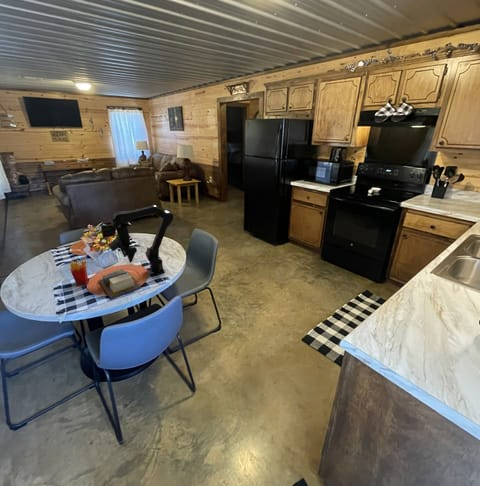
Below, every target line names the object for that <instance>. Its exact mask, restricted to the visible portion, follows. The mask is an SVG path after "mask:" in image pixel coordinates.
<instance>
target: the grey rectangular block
mask: <svg viewBox="0 0 480 486" xmlns="http://www.w3.org/2000/svg"><path fill="white" fill-rule="evenodd" d="M126 271H127V270H125V269H123V268H121V269H119V270H116V271H113V272H110V273H107V274H103V275H102V279H103V280H104V282H105V283H106V284H109V283H110V280H109V279H111V278H114V277H117V276H120V275H123V274H126Z"/></svg>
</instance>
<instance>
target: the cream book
mask: <svg viewBox="0 0 480 486" xmlns="http://www.w3.org/2000/svg"><path fill="white" fill-rule="evenodd" d="M129 274H130V272H128V273H126V274H123V275H120V276H117V277H114V278H111V279H109V280H110V283H111V284H112V286H113V287H115V286H118V285H121V284H123V283H126V282H129V281H132V277H133V276H132V275H131V274H130V275H131V276H132V277H131V276H130V275H129Z"/></svg>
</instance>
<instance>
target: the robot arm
mask: <svg viewBox="0 0 480 486" xmlns="http://www.w3.org/2000/svg"><path fill="white" fill-rule="evenodd" d="M152 214H155V215H157V216H158V217H159V225H158V228H157V230H156V233H155V236H154V239H153V242H152V244H151V246H150V247H149V246H148V247H147V248H146V251H145V257H146V259H147V261H148V262H149V264H150V265H149V269H150V272H151V273H152V274H153V275H158V274H161V273H163V272H165V269H164V267H163V265H164V264H163V260H162V258H161V257H160V247H161V245H162V242H163V239H164V236H165V235H166V231H167V229H168V227H169V226H170V225H171V224H172V222H173V220H174V215H173V213H171V212H170V211H169V210H167V209H165V210H164V209H163V208H161V207H158V206H157V205H155V204H152V205H149V206H146V207H140V208H136V209H133V210H120V211H116V212H114V214H113V219H112V221H111V223H109V224H101V225H100V229H101V230H100V231H101V236H102V238H103V239H106V238H113V237H115V236H116V235H117V236H116V239H114V240H112V241H110V242H109V243H107V247H109V249H110V250H111V251H112V252H115V251H116V250H118V249H120V252H121V253H122V255H123V257H124V258H126V257H127V259H128V262H129V263H132V262H133V260H134V257H135V255H136V253H137V252H138V249H137V247H135V246H134V245H132V244H133V243H132V242H131V235H130V233H129V227H132V224H131V223H130V221H132V220H133V219H137V218H141V217H145V216H150V215H152Z"/></svg>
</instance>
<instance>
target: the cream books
mask: <svg viewBox="0 0 480 486" xmlns="http://www.w3.org/2000/svg"><path fill="white" fill-rule="evenodd" d="M132 286H134V281H133V279H132V281H129V282H126V283H123V284H121V285H118V286H115V287H113V286H112V284H111V283H110V289H111V290H112V291H113V293H115V292H118V291H121V290H124V289H126V288H129V287H132Z"/></svg>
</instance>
